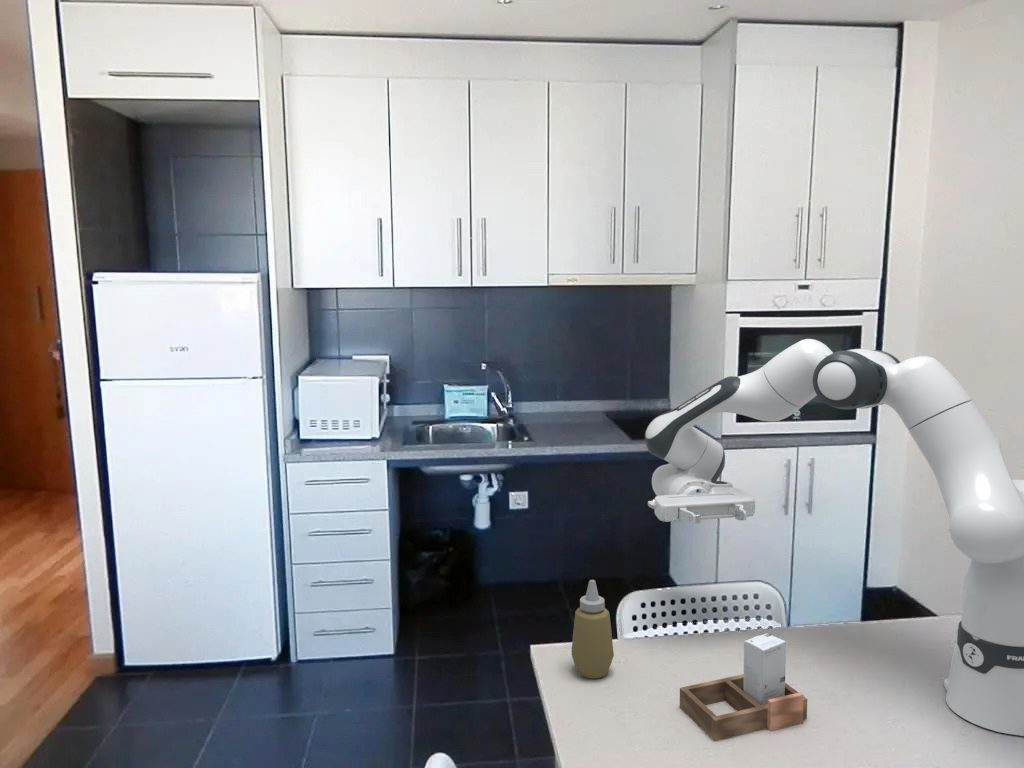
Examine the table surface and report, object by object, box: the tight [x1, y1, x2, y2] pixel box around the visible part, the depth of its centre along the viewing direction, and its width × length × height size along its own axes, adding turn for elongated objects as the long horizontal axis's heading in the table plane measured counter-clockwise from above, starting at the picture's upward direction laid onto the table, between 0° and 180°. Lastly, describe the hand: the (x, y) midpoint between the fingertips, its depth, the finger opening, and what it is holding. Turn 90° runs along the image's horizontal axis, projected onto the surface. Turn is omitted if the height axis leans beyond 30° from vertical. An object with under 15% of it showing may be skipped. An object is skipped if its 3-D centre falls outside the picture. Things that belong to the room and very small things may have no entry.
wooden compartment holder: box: [679, 673, 808, 742], centre depth 124 cm, size 18×11×5 cm, turn 109°
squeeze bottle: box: [571, 579, 615, 679], centre depth 139 cm, size 8×8×18 cm
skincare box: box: [743, 632, 787, 706], centre depth 126 cm, size 6×4×12 cm
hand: (720, 518), depth 142 cm, fingers open, 8 cm apart
